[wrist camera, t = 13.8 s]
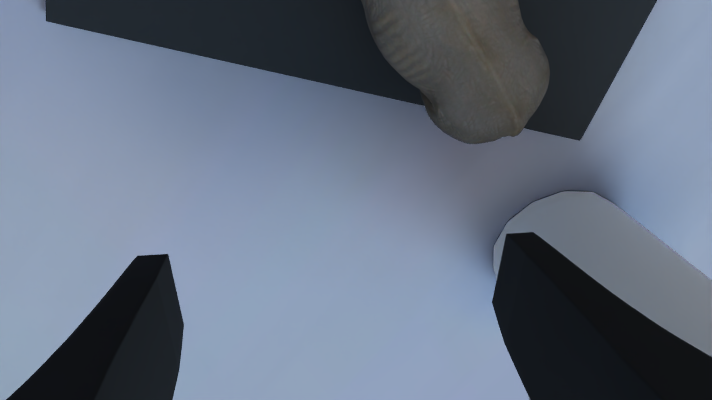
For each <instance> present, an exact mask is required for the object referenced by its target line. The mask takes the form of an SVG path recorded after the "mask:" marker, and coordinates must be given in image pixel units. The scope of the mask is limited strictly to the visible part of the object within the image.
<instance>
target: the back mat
mask: <svg viewBox="0 0 712 400" xmlns="http://www.w3.org/2000/svg"><path fill="white" fill-rule="evenodd" d="M656 1H657V0H518V3H519V8H520V12H521V17H522V20H523V23H524V25H525V26H526V28H527V30H528V31H529V32H530V33H531V34H532V35H534V36H535V37H536V38H537V39H538V40H539V42H540V44H541V46H542V48H543V50H544V52H545V54H546V56H547V59H548V62H549V69H550V76H549V84H548V88H547V90H546V93H545V95H544V97H543V99H542V101H541V103H540V105H539V107H538V108H537V110H536V111H535V113H534V114H533V115H532V116H531V117H530V119H529V120H528V122H527V123H526V125H525V127H524V128H526V129H530V130H535V131H539V132H544V133H548V134H553V135H557V136H562V137H566V138H571V139H575V140H581V138H582V136H583V135H584V133H585V131H586V129H587V127H588V125H589V124H590V122H591V120H592V118H593V116H594V114H595V113H596V111H597V109H598V107H599V105H600V104H601V102H602V100H603V98H604V96H605V94H606V93H607V91H608V89H609V87H610V85H611V83H612V82H613V80H614V78H615V76H616V74H617V72H618V71H619V69H620V67H621V65H622V63H623V62H624V60H625V58H626V56H627V54H628V52H629V51H630V49H631V47H632V45H633V43H634V41H635V40H636V38H637V36H638V34H639V32H640V30H641V29H642V27H643V25H644V23H645V21H646V20H647V18H648V16H649V14H650V12H651V10H652V9H653V7H654V5H655V3H656ZM46 21H48V22H52V23H57V24H61V25H66V26H70V27H75V28H79V29H84V30H88V31H92V32H97V33H101V34H106V35H110V36H115V37H119V38H124V39H128V40H133V41H137V42H142V43H146V44H151V45H155V46H159V47H164V48H168V49H173V50H177V51H182V52H186V53H191V54H195V55H200V56H204V57H209V58H213V59H218V60H222V61H227V62H231V63H235V64H240V65H244V66H249V67H253V68H258V69H262V70H267V71H271V72H276V73H280V74H285V75H289V76H294V77H298V78H303V79H307V80H311V81H316V82H320V83H325V84H329V85H334V86H338V87H343V88H347V89H352V90H356V91H361V92H365V93H370V94H374V95H378V96H383V97H387V98H392V99H396V100H401V101H405V102H410V103H414V104H419V105H423V106H424V103H423V100H422V97H421V93H420V89H418V88H417V87H415V86H413V85H412V84H411V83H409V82H408V81H406V80H405V79H404V78H403V77H402V76H401V75H400V74H399V73H398V72H397V71H396V70H395V69H394V68H393V67H392V66H391V65H390V64H389V63H388V62H387V60H386V59H385V58H384V56H383V55H382V53H381V52H380V50H379V48H378V47H377V45H376V43H375V41H374V39H373V37H372V34H371V32H370V30H369V27H368V24H367V20H366V16H365V11H364V7H363V4H362V1H361V0H46Z"/></svg>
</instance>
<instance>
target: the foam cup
mask: <svg viewBox="0 0 712 400" xmlns="http://www.w3.org/2000/svg"><path fill="white" fill-rule="evenodd" d="M525 232H534V233H535V234H537V235H538V236H539V237H541V238H542V239H543V240H545V241H546V242H547V243H549V244H550V245H551V246H552V247H554V248H555V249H556V250H557V251H559V252H560V253H561V254H563V255H564V256H565V257H566V258H568V259H569V260H570V261H571V262H573V263H574V264H575V265H577V266H578V267H579V268H580V269H582V270H583V271H584V272H585V273H587V274H588V275H589V276H591V277H592V278H593V279H595V280H596V281H597V282H598V283H600V284H601V285H602V286H604V287H605V288H606V289H608V290H609V291H610V292H612V293H613V294H615V295H616V296H617V297H619V298H620V299H621V300H623V301H624V302H626V303H627V304H628V305H630V306H631V307H633V308H634V309H636V310H637V311H639V312H640V313H642V314H643V315H645V316H646V317H648V318H649V319H650V320H652V321H653V322H655V323H656V324H658V325H659V326H661V327H663V328H664V329H666V330H667V331H669V332H670V333H672V334H674V335H675V336H677V337H679V338H680V339H682V340H684V341H686V342H687V343H689V344H691V345H692V346H694V347H696V348H697V349H699V350H701V351H702V352H704V353H706V354H708V355H709V356H711V357H712V280H711V279H710V278H708V277H707V276H706V275H705V274H703V273H702V272H701V271H700V270H698V269H697V268H696V267H694V266H693V265H692V264H691V263H689V262H688V261H687V260H686V259H684V258H683V257H682V256H680V255H679V254H678V253H677V252H675V251H674V250H673V249H672V248H670V247H669V246H668V245H667V244H665V243H664V242H663V241H661V240H660V239H659V238H658V237H656V236H655V235H654V234H653V233H651V232H650V231H649V230H648V229H646V228H645V227H644V226H642V225H641V224H640V223H639V222H637V221H636V220H635V219H634V218H632V217H631V216H630V215H628V214H627V213H626V212H625V211H623V210H622V209H620V208H618V207H617V206H616V205H615V204H614V203H612V202H610V201H608V200H607V199H605V198H603V197H601V196H599V195H598V194H596V193H594V192H574V191H562V192H560V193H557V194H554V195H551V196H549V197H546V198H543V199H540V200H537V201H535V202H532V203H531V204H530V205H528V206H527V207H526V208H525V209H523V210H522V211H521V212H520V213H518V214H517V215H516V216H515V217H513V218H512V219H511V220H510V221H508V222H507V224H506V225H505V227H504V229H503V231H502V232H501V234H500V236H499V238H498V239H497V241H496V243H495V245H494V254H493V269H494V272H495V274H496V281H497V276H498V271H499V266H500V262H501V257H502V252H503V247H504V242H505V237H506V234H509V233H525ZM528 397H529V396H528ZM529 400H530V398H529Z"/></svg>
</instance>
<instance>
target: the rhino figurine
mask: <svg viewBox="0 0 712 400" xmlns="http://www.w3.org/2000/svg"><path fill="white" fill-rule="evenodd" d="M361 1H362V4H363V7H364V11H365V16H366V20H367V24H368V27H369V30H370V32H371V34H372V37H373V39H374V41H375V43H376V45H377V47H378V48H379V50H380V52H381V53H382V55H383V56H384V58H385V59H386V60H387V62H388V63H389V64H390V65H391V66H392V67H393V68H394V69H395V70H396V71H397V72H398V73H399V74H400V75H401V76H402V77H403V78H404V79H405V80H406V81H408V82H409V83H411V84H412V85H413V86H415V87H417V88H418V89H420V93H421V97H422V100H423V103H424V106H425V108H426V111H427V113H428V116H429V117H430V119H431V120H432V121H433V122H434V124H435V125H436V126H437V127H438V128H440V129H441V130H442V131H443V132H444V133H446V134H448V135H449V136H451V137H453V138H455V139H457V140H459V141H461V142H464V143H467V144H479V143H486V142H491V141H495V140H497V139H499V138H502V137H506V136H512V137H514V136H517V135H518V134H519V133H520V132H521V131H522V130H523V128H524V127H525V125H526V123H527V122H528V120H529V119H530V117H531V116H532V115H533V114H534V113H535V111H536V110H537V108H538V107H539V105H540V103H541V101H542V99H543V97H544V95H545V93H546V90H547V88H548V84H549V76H550V69H549V62H548V59H547V56H546V54H545V52H544V50H543V48H542V46H541V44H540V42H539V40H538V39H537V38H536V37H535V36H534V35H532V34H531V33H530V32H529V31H528V30H527V28H526V26H525V25H524V23H523V20H522V17H521V12H520V8H519V3H518V0H361Z"/></svg>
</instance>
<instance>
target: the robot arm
mask: <svg viewBox="0 0 712 400" xmlns="http://www.w3.org/2000/svg"><path fill="white" fill-rule="evenodd" d="M492 303H493V307H494V310H495V314H496V317H497V321H498V324H499V327H500V330H501V333H502V336H503V339H504V343H505V345H506V347H507V350H508V352H509V354H510V356H511V359H512V361H513V363H514V365H515V367H516V370H517V372H518V374H519V376H520V378H521V380H522V383H523V385H524V387H525V389H526V391H527V393H528V396H529V398H530V400H712V357H711V356H709V355H708V354H706V353H704V352H702V351H701V350H699V349H697V348H696V347H694V346H692V345H691V344H689V343H687V342H686V341H684V340H682V339H680V338H679V337H677V336H675V335H674V334H672V333H670V332H669V331H667V330H666V329H664V328H663V327H661V326H659V325H658V324H656V323H655V322H653V321H652V320H650V319H649V318H648V317H646V316H645V315H643V314H642V313H640V312H639V311H637V310H636V309H634V308H633V307H631V306H630V305H628V304H627V303H626V302H624V301H623V300H621V299H620V298H619V297H617V296H616V295H615V294H613V293H612V292H610V291H609V290H608V289H606V288H605V287H604V286H602V285H601V284H600V283H598V282H597V281H596V280H595V279H593V278H592V277H591V276H589V275H588V274H587V273H585V272H584V271H583V270H582V269H580V268H579V267H578V266H577V265H575V264H574V263H573V262H571V261H570V260H569V259H568V258H566V257H565V256H564V255H563V254H561V253H560V252H559V251H557V250H556V249H555V248H554V247H552V246H551V245H550V244H549V243H547V242H546V241H545V240H543V239H542V238H541V237H539V236H538V235H537V234H535V233H534V232H525V233H509V234H506V237H505V242H504V247H503V252H502V257H501V262H500V266H499V271H498V276H497V281H496V286H495V291H494V296H493V301H492ZM183 328H184V323H183V319H182V314H181V310H180V305H179V301H178V297H177V292H176V288H175V283H174V279H173V274H172V270H171V265H170V261H169V256H168V254H161V255H145V256H137V257H136V258H135V259H134V260H133V261H132V263H131V264H130V265H129V266H128V267H127V269H126V270H125V271H124V272H123V274H122V275H121V276H120V277H119V279H118V280H117V281H116V282H115V284H114V285H113V286H112V287H111V289H110V290H109V291H108V292H107V293H106V295H105V296H104V297H103V298H102V299H101V301H100V302H99V303H98V304H97V305H96V307H95V308H94V309H93V310H92V311H91V312H90V314H89V315H88V316H87V317H86V318H85V319H84V320H83V322H82V323H81V324H80V325H79V326H78V327H77V329H76V330H75V331H74V332H73V333H72V334H71V335H70V336H69V338H68V339H67V340H66V341H65V342H64V343H63V344H62V345H61V346H60V347H59V348H58V349H57V350H56V351H55V352H54V353H53V354H52V355H51V356H50V358H49V359H48V360H47V361H46V362H45V363H44V364H43V365H42V366H41V367H40V368H39V369H38V370H37V371H36V372H35V373H34V374H33V375H32V376H31V377H30V378H29V379H28V380H27V381H26V382H25V383H24V384H23V385H22V386H21V387H20V388H18V389H17V390H16V391H15V392H14V393H13V394H12V395H11V396H10V397H9V398H8V399H6V400H172V399H173V395H174V390H175V386H176V382H177V377H178V372H179V366H180V358H181V349H182V339H183Z"/></svg>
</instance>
